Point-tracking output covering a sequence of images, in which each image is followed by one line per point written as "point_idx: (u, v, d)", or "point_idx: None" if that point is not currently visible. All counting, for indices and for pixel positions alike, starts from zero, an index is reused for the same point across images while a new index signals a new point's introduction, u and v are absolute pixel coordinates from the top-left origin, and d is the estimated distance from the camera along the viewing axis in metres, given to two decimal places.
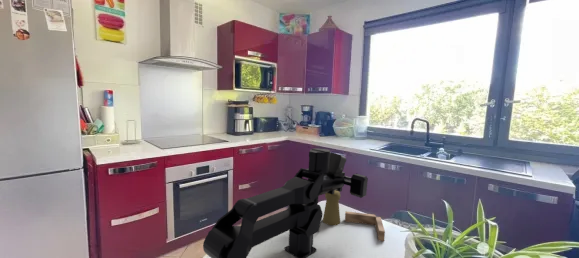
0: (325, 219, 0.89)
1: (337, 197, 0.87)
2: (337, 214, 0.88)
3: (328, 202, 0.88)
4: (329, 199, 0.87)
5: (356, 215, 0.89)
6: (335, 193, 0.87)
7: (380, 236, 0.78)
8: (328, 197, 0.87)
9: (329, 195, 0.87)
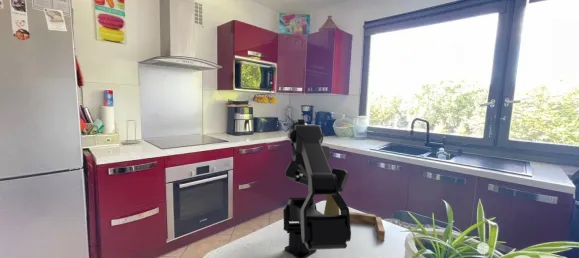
0: None
1: None
2: (337, 214, 0.88)
3: (328, 202, 0.88)
4: (329, 199, 0.87)
5: (356, 215, 0.89)
6: None
7: (380, 236, 0.78)
8: (328, 197, 0.87)
9: (329, 195, 0.87)
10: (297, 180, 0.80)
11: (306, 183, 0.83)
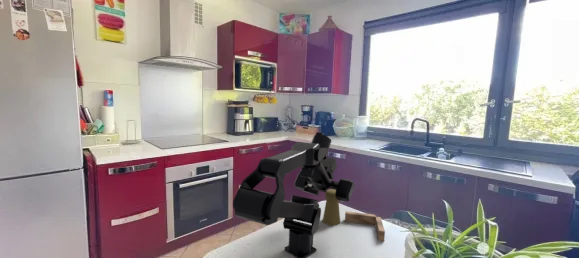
0: (325, 219, 0.89)
1: None
2: (337, 214, 0.88)
3: (328, 202, 0.88)
4: (329, 199, 0.87)
5: (356, 215, 0.89)
6: None
7: (380, 236, 0.78)
8: (328, 197, 0.87)
9: (329, 195, 0.87)
10: (306, 190, 0.85)
11: (314, 192, 0.88)
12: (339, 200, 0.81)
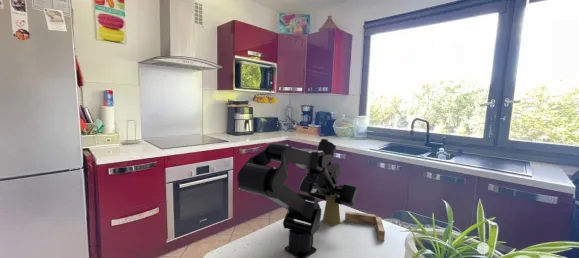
0: (325, 219, 0.89)
1: None
2: (337, 214, 0.88)
3: (328, 202, 0.88)
4: (329, 199, 0.87)
5: (356, 215, 0.89)
6: None
7: (380, 236, 0.78)
8: (328, 197, 0.87)
9: None
10: (315, 196, 0.87)
11: (323, 198, 0.90)
12: (337, 203, 0.85)
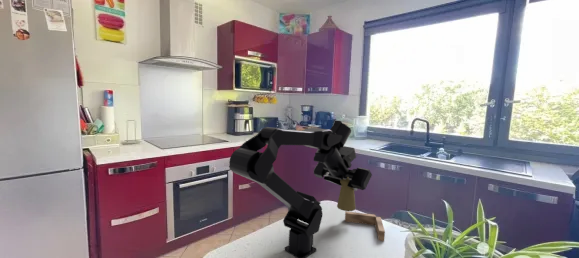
0: (339, 204, 0.87)
1: None
2: (351, 200, 0.85)
3: (342, 187, 0.86)
4: (343, 184, 0.85)
5: (356, 215, 0.89)
6: None
7: (380, 236, 0.78)
8: (342, 182, 0.85)
9: (343, 179, 0.85)
10: (329, 179, 0.86)
11: (338, 183, 0.88)
12: (351, 187, 0.82)
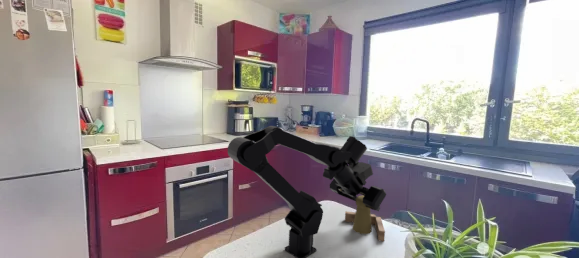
0: (353, 226, 0.85)
1: None
2: (366, 223, 0.82)
3: (357, 208, 0.84)
4: (358, 205, 0.83)
5: None
6: None
7: (380, 236, 0.78)
8: (357, 203, 0.83)
9: (358, 200, 0.83)
10: (340, 193, 0.86)
11: (350, 197, 0.87)
12: None
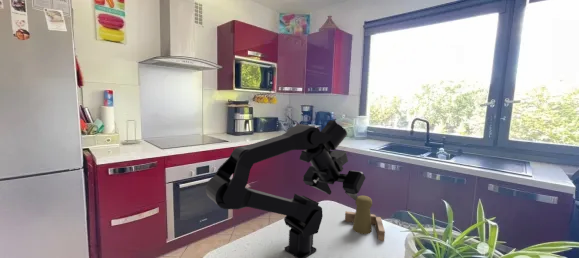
0: (353, 226, 0.85)
1: (366, 204, 0.82)
2: (366, 223, 0.82)
3: (357, 208, 0.84)
4: (358, 205, 0.83)
5: None
6: (365, 200, 0.82)
7: (380, 236, 0.78)
8: (357, 203, 0.83)
9: (357, 200, 0.83)
10: (315, 185, 0.80)
11: (324, 190, 0.82)
12: (349, 195, 0.74)
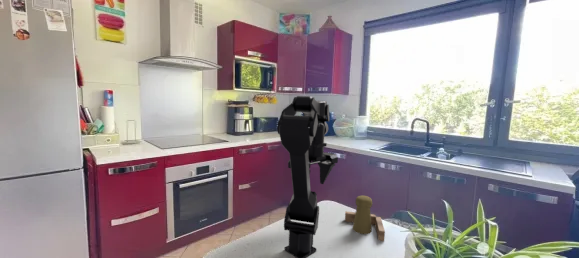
0: (353, 226, 0.85)
1: (366, 204, 0.81)
2: (366, 223, 0.82)
3: (357, 208, 0.84)
4: (358, 205, 0.83)
5: None
6: (365, 200, 0.82)
7: (380, 236, 0.78)
8: (357, 203, 0.83)
9: (358, 200, 0.83)
10: (308, 170, 0.80)
11: None
12: (328, 172, 0.88)
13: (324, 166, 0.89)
